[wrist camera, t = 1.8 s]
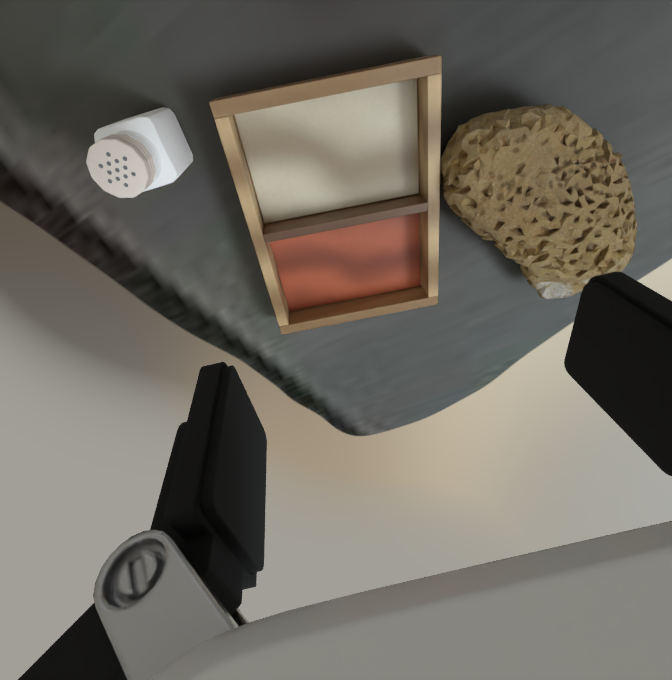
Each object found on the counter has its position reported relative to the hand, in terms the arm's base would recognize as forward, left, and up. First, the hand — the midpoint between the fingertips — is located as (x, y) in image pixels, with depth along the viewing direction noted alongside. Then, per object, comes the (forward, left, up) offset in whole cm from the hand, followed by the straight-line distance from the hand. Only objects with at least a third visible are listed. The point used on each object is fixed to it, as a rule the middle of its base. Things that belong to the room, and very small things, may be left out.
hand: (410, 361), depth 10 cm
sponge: (+6, +18, -26) cm, 32 cm away
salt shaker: (-4, -12, -26) cm, 29 cm away
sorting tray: (+4, +1, -26) cm, 26 cm away
